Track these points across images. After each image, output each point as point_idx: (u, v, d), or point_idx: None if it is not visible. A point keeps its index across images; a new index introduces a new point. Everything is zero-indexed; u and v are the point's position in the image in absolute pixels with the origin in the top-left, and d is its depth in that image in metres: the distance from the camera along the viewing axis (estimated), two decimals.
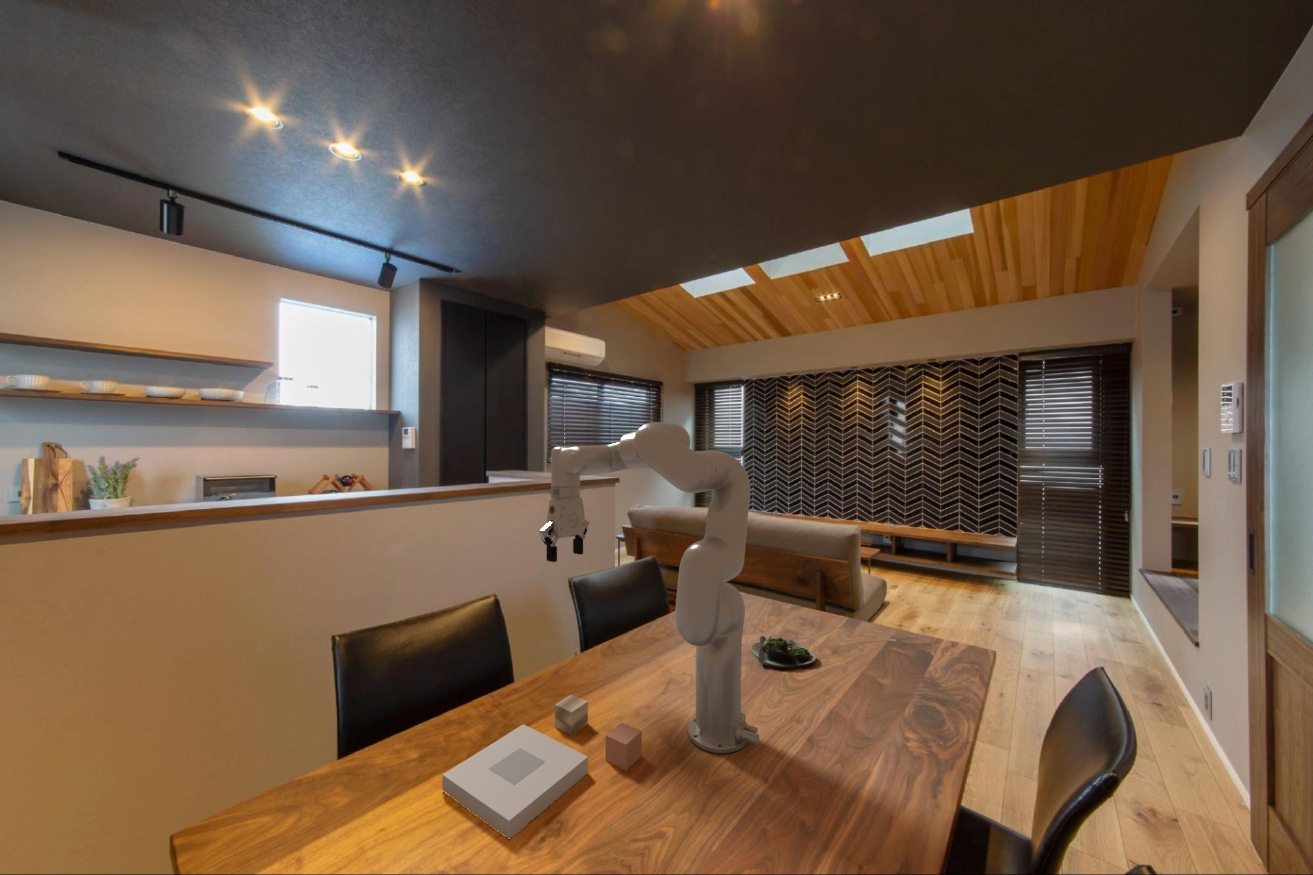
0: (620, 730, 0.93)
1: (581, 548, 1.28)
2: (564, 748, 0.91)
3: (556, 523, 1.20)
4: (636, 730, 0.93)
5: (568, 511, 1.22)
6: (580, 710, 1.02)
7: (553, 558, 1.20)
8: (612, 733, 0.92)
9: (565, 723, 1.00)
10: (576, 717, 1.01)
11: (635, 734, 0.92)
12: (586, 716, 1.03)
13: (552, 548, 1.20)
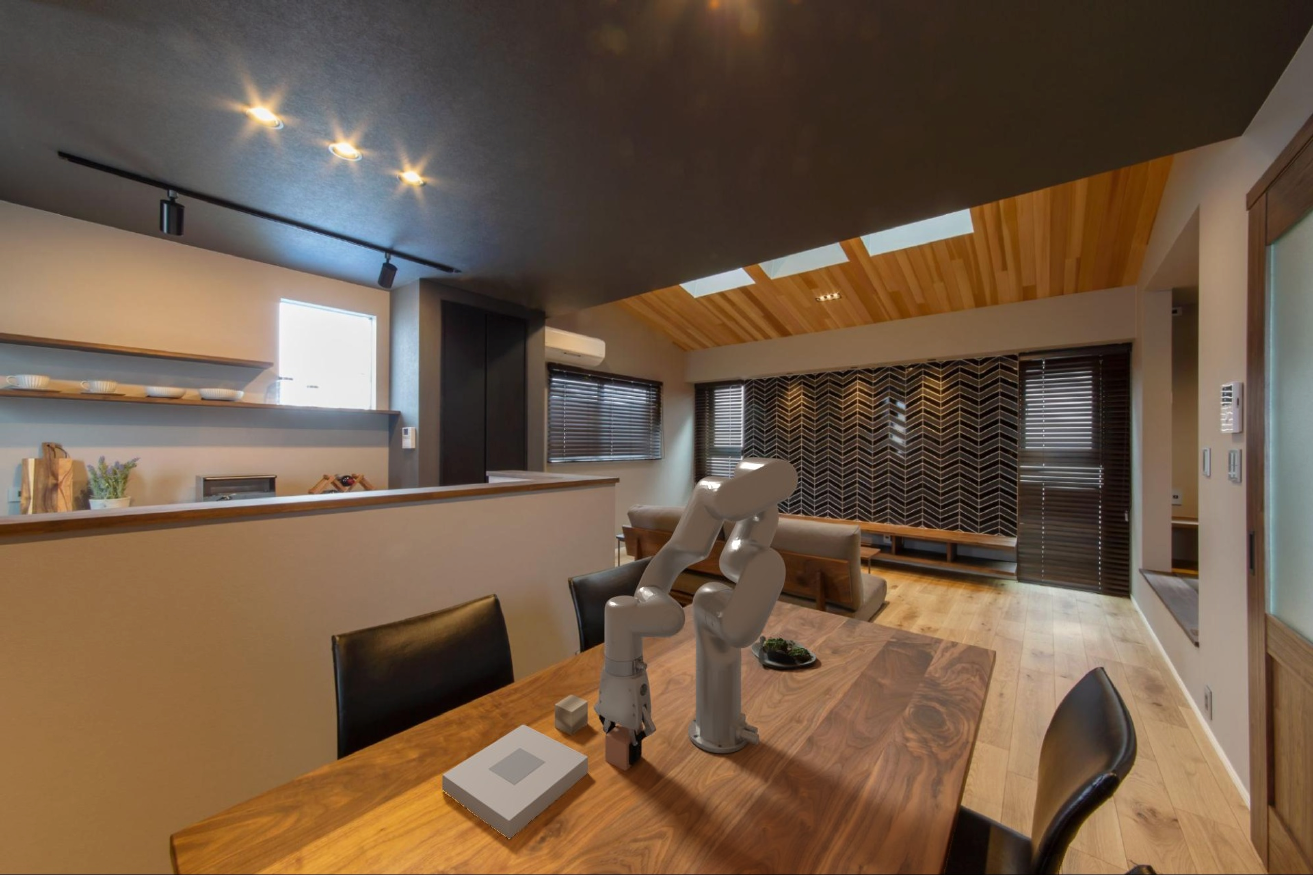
0: (620, 730, 0.93)
1: None
2: (564, 748, 0.91)
3: (649, 703, 0.91)
4: (636, 730, 0.93)
5: None
6: (580, 710, 1.02)
7: None
8: (612, 733, 0.92)
9: (565, 723, 1.00)
10: (576, 716, 1.01)
11: None
12: (586, 716, 1.03)
13: None
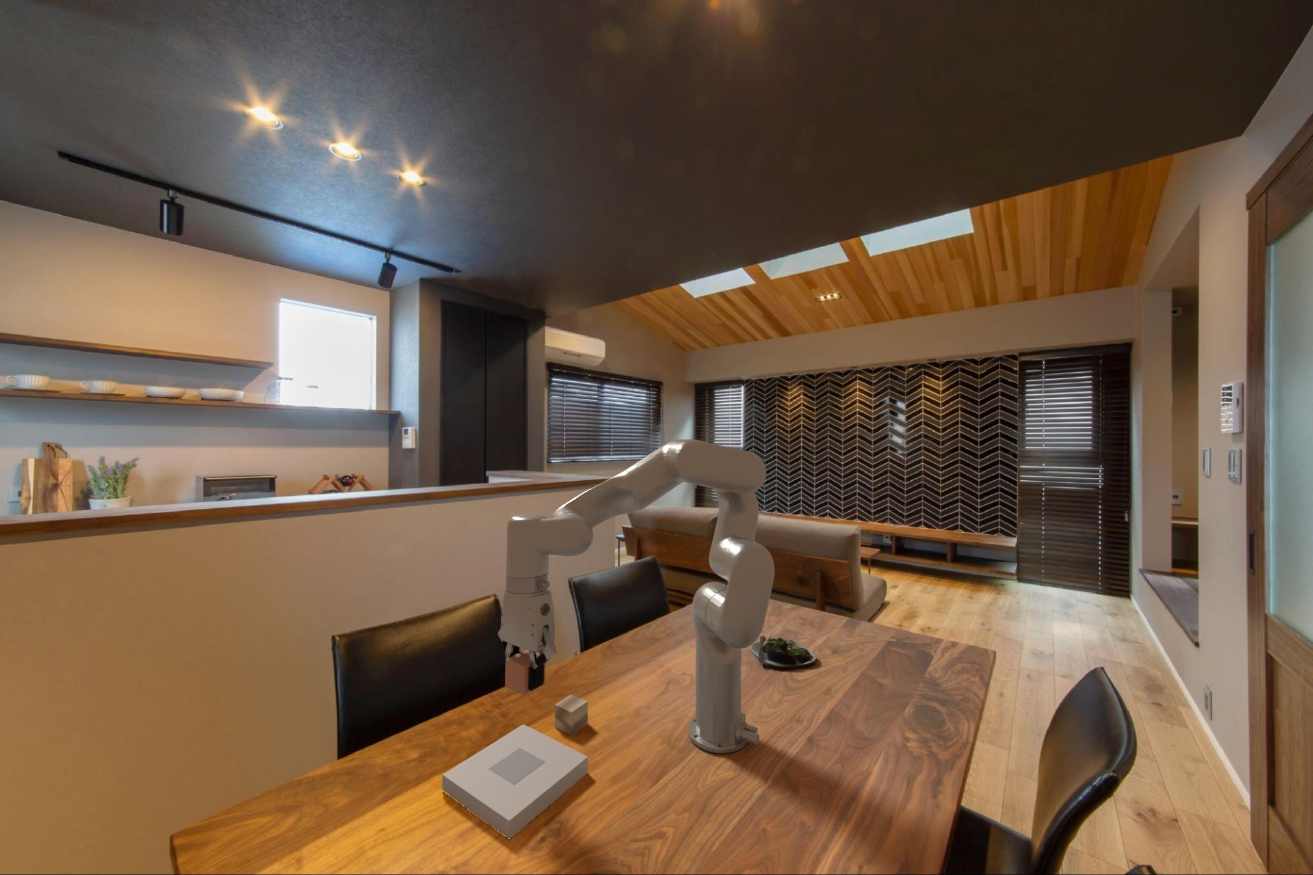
0: (523, 655, 0.87)
1: None
2: (564, 748, 0.91)
3: (552, 625, 0.85)
4: None
5: None
6: (580, 710, 1.02)
7: None
8: (513, 658, 0.86)
9: (565, 723, 1.00)
10: (576, 716, 1.01)
11: None
12: (586, 716, 1.03)
13: None
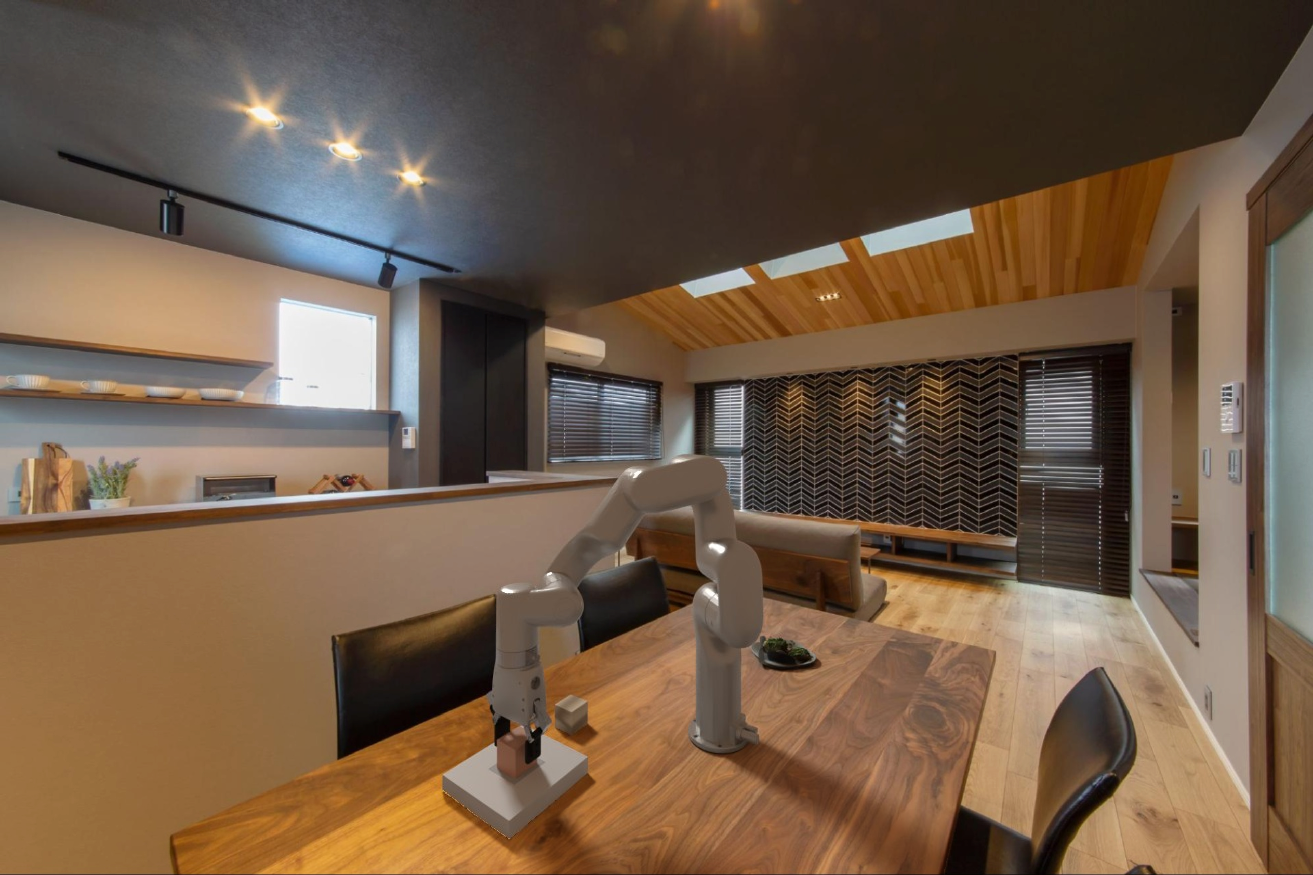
0: (514, 734, 0.87)
1: None
2: (564, 748, 0.91)
3: (543, 697, 0.85)
4: None
5: None
6: (580, 710, 1.02)
7: None
8: (504, 738, 0.86)
9: (565, 723, 1.00)
10: (576, 716, 1.01)
11: None
12: (586, 716, 1.03)
13: None
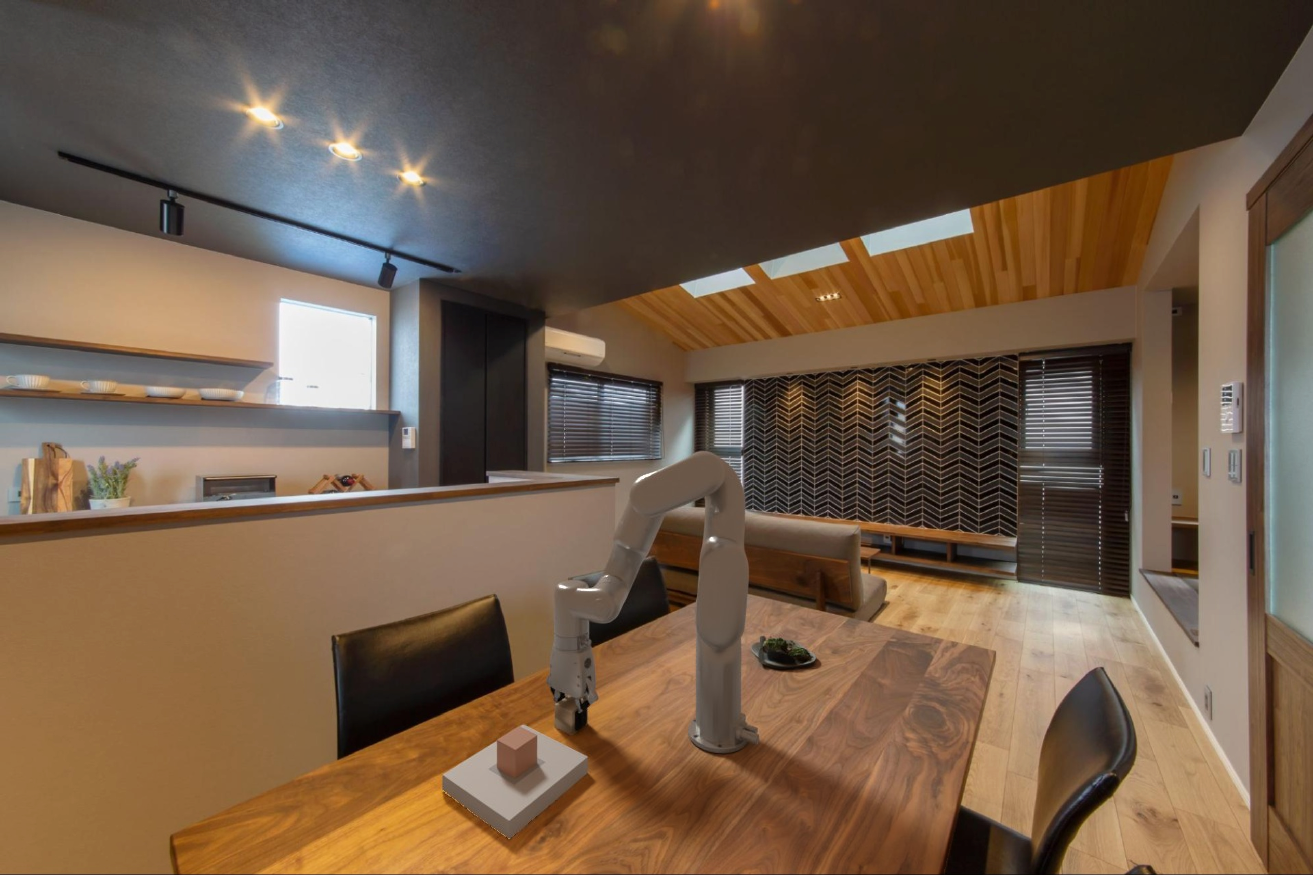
0: (514, 734, 0.87)
1: None
2: (564, 748, 0.91)
3: (594, 675, 1.02)
4: (532, 734, 0.87)
5: None
6: None
7: None
8: (504, 738, 0.86)
9: (565, 723, 1.00)
10: None
11: (529, 739, 0.85)
12: None
13: None
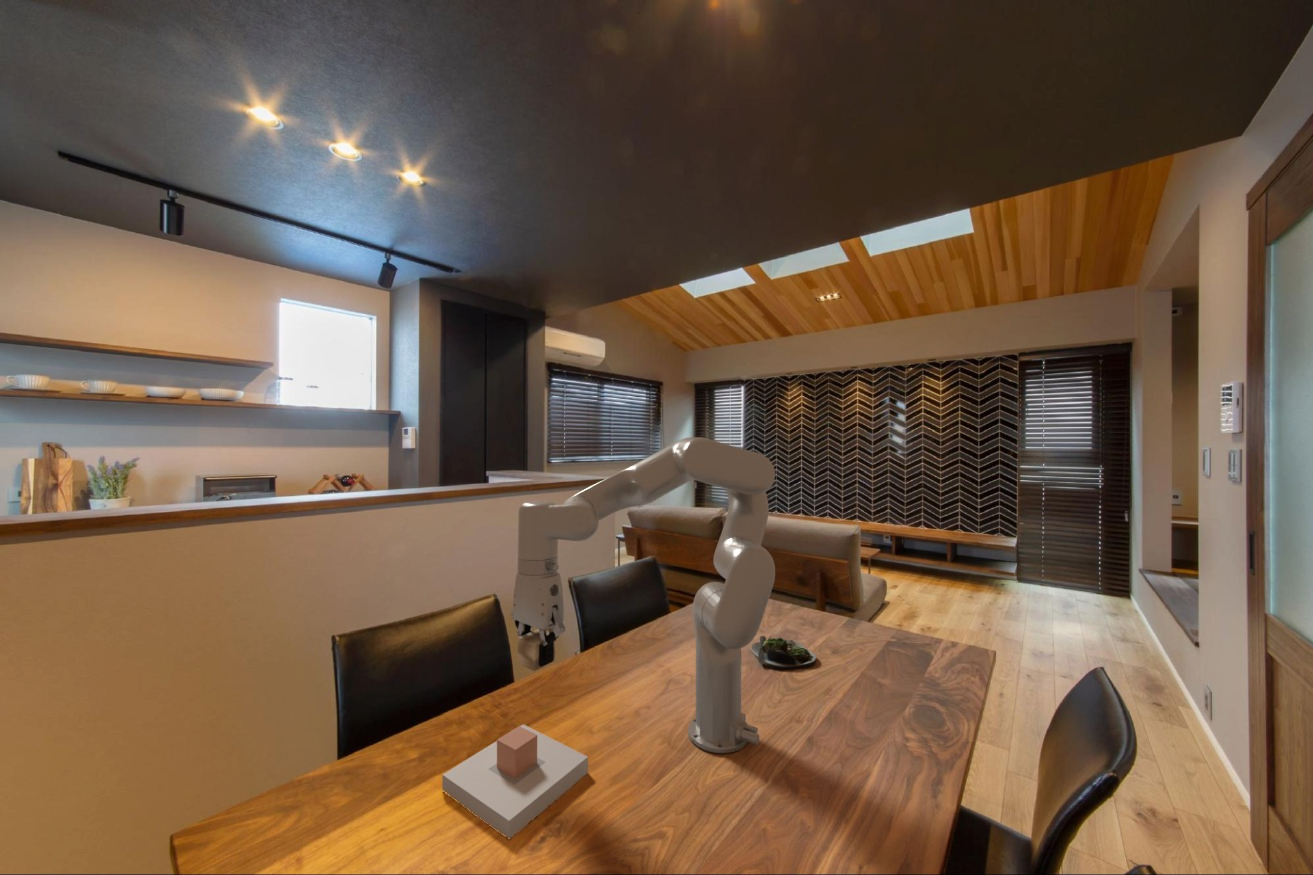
0: (514, 734, 0.87)
1: None
2: (564, 748, 0.91)
3: (561, 605, 0.90)
4: (532, 734, 0.87)
5: None
6: None
7: None
8: (504, 738, 0.86)
9: (528, 657, 0.89)
10: None
11: (529, 739, 0.85)
12: None
13: None
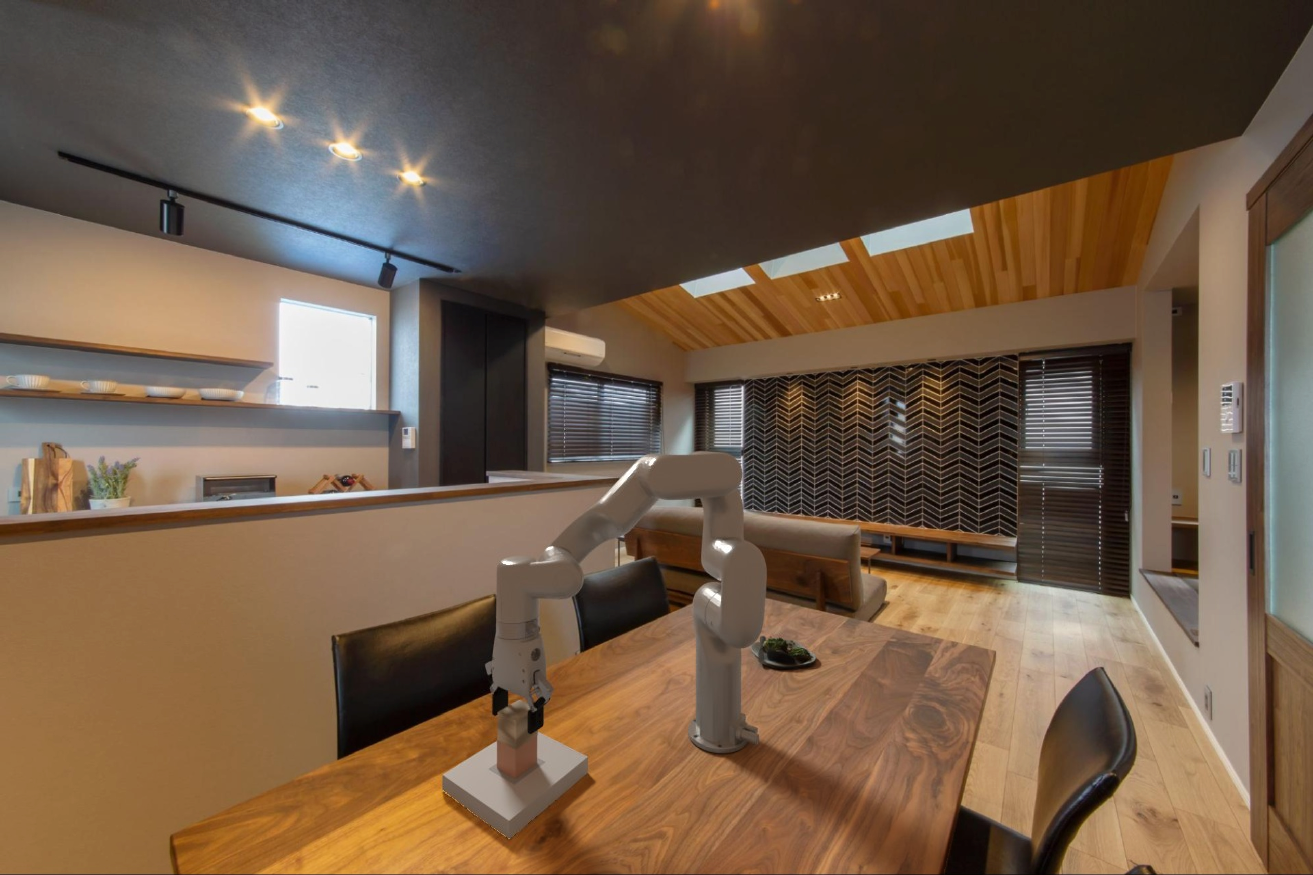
0: None
1: None
2: (564, 748, 0.91)
3: (544, 669, 0.85)
4: None
5: None
6: (527, 718, 0.85)
7: None
8: None
9: (509, 734, 0.83)
10: (522, 727, 0.84)
11: None
12: None
13: None
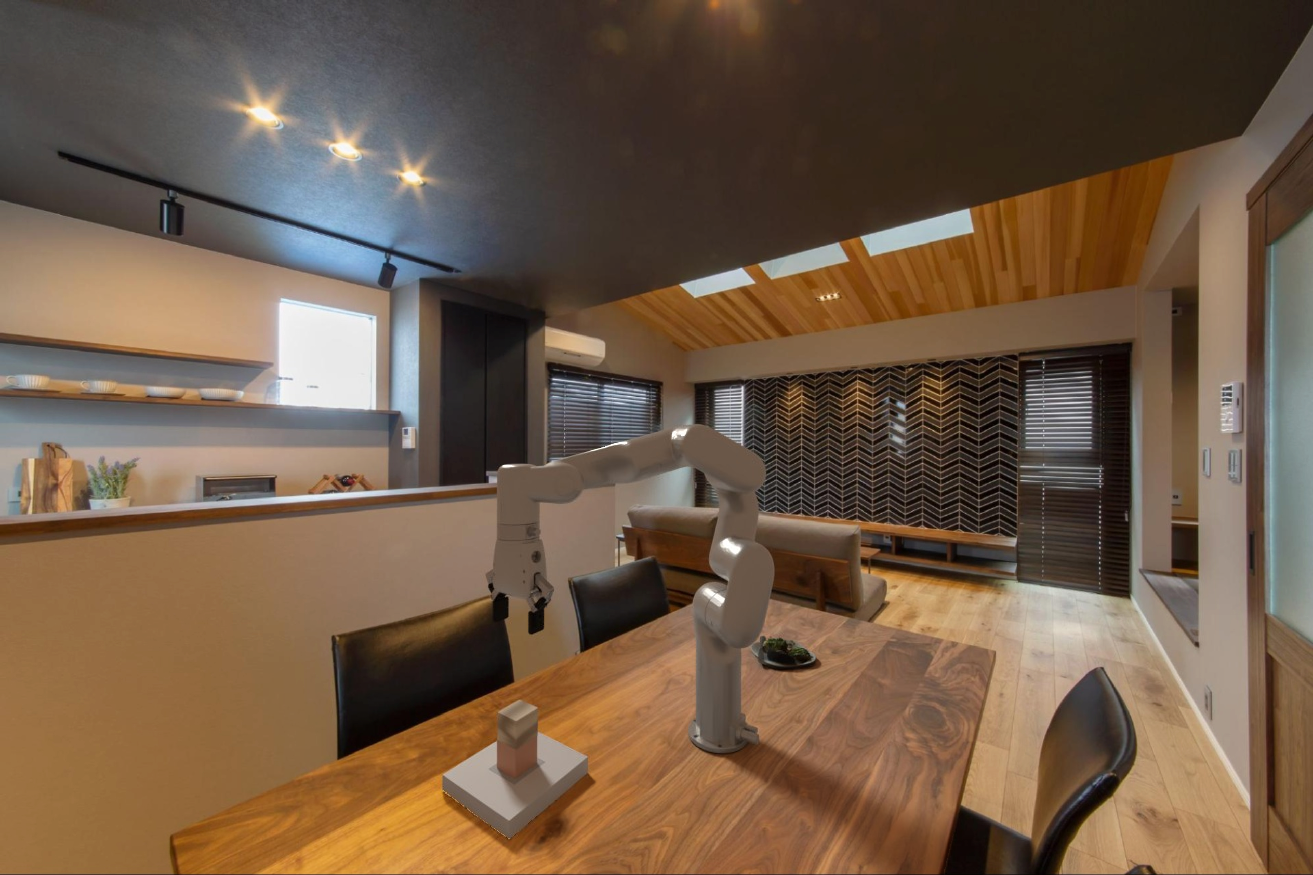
0: None
1: (508, 608, 0.90)
2: (564, 748, 0.91)
3: (544, 573, 0.85)
4: None
5: None
6: (527, 718, 0.85)
7: None
8: None
9: (509, 734, 0.83)
10: (522, 727, 0.84)
11: None
12: (536, 726, 0.86)
13: None
